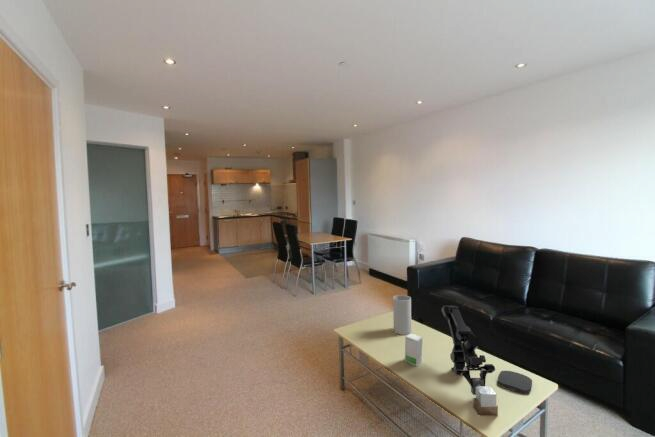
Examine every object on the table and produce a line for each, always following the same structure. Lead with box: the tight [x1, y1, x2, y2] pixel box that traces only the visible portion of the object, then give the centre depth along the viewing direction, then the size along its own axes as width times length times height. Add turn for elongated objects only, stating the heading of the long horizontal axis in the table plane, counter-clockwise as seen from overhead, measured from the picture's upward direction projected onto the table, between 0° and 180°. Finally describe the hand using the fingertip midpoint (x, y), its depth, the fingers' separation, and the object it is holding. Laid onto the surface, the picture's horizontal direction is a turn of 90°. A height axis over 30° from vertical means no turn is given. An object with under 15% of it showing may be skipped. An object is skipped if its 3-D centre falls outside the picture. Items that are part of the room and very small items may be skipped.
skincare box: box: [404, 332, 423, 367], centre depth 188 cm, size 8×7×16 cm
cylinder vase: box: [392, 294, 412, 336], centre depth 229 cm, size 12×12×25 cm
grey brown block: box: [472, 385, 499, 417], centre depth 144 cm, size 6×8×10 cm
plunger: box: [470, 377, 484, 396], centre depth 150 cm, size 8×5×7 cm, turn 177°
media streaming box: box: [497, 370, 533, 395], centre depth 164 cm, size 15×15×3 cm
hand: (478, 387), depth 151 cm, fingers closed on plunger, 5 cm apart
